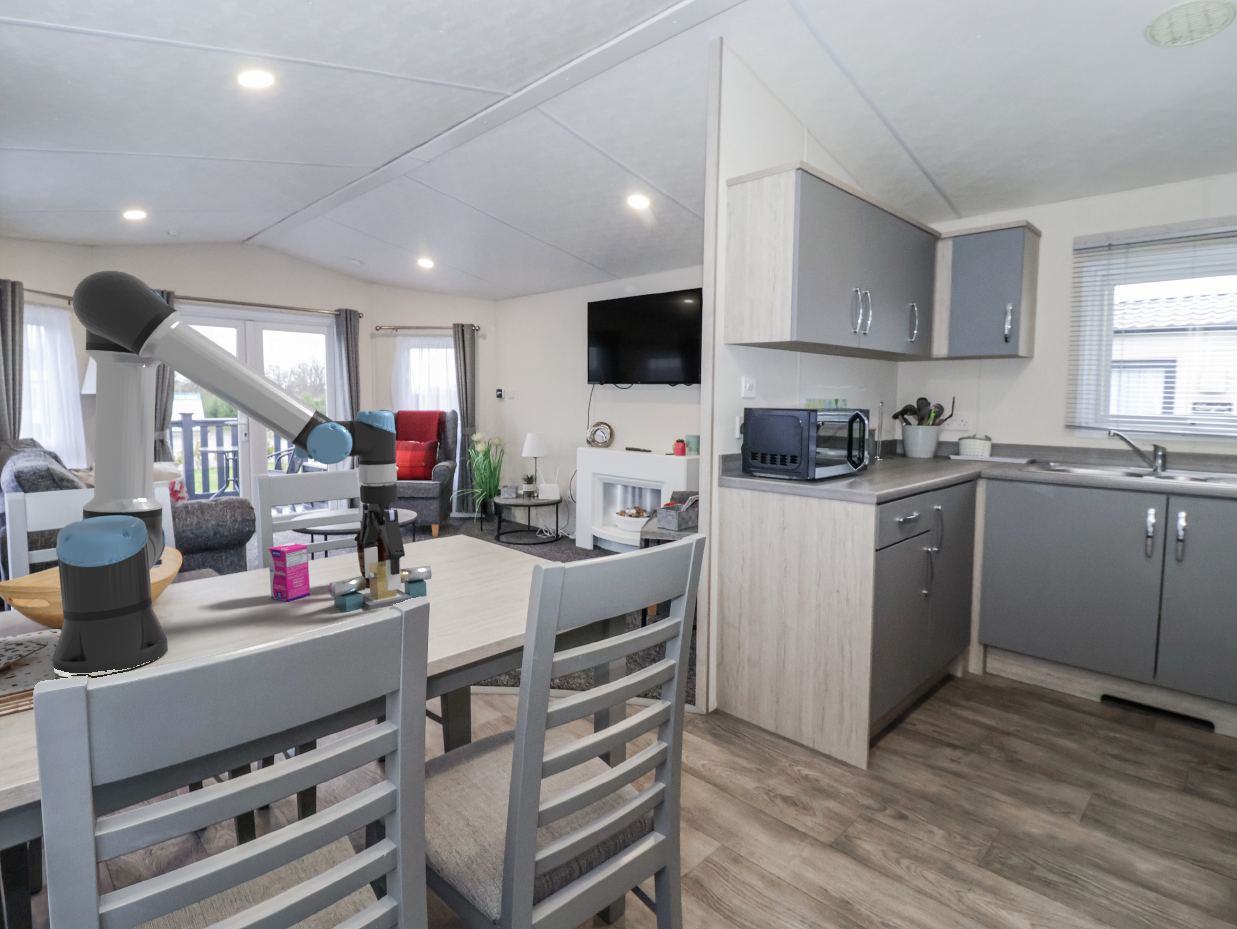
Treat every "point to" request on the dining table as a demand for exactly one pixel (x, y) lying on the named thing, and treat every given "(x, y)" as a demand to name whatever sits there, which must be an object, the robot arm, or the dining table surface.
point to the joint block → (379, 581)
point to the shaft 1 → (348, 593)
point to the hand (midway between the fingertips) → (382, 582)
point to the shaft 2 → (415, 580)
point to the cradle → (384, 600)
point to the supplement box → (289, 572)
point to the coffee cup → (360, 550)
